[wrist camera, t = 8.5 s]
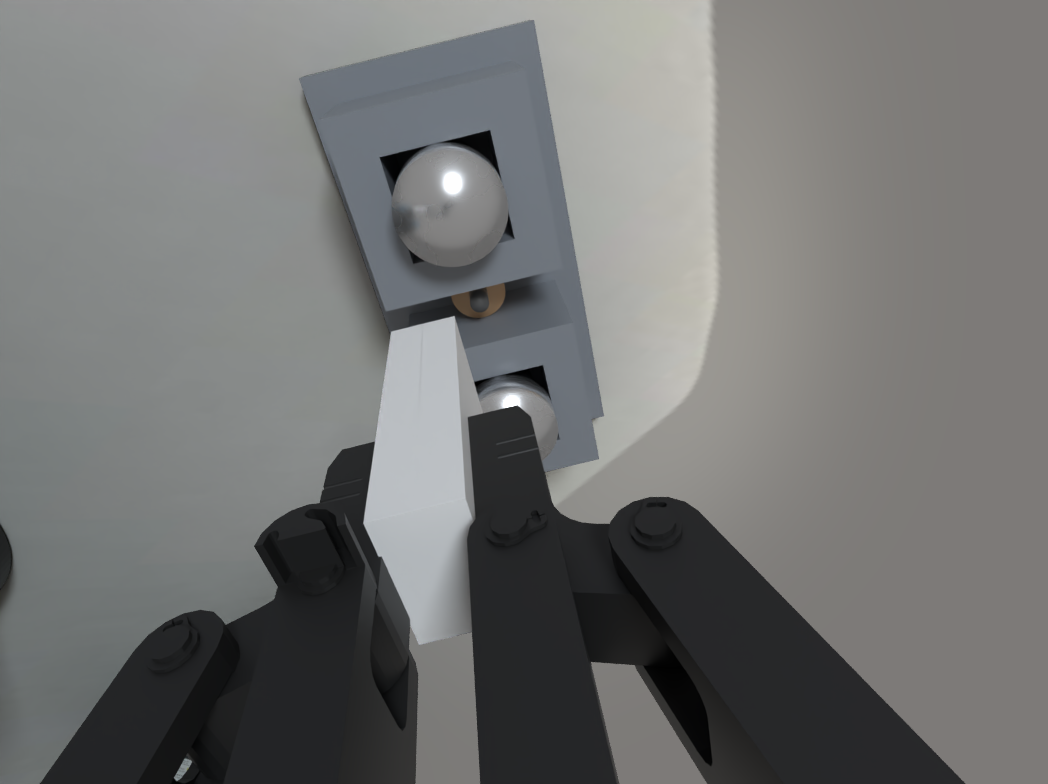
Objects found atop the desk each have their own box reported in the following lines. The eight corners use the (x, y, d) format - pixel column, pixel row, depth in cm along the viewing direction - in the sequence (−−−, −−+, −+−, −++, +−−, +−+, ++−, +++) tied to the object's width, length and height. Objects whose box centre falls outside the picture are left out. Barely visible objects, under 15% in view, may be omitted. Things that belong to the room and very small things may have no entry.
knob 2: (470, 406, 42) (476, 481, 35) (450, 339, 39) (452, 406, 33) (545, 388, 42) (565, 460, 35) (529, 319, 39) (548, 383, 33)
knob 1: (417, 229, 36) (411, 278, 29) (388, 136, 33) (375, 166, 26) (504, 207, 36) (519, 252, 29) (482, 112, 33) (493, 137, 26)
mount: (434, 443, 46) (432, 519, 39) (304, 76, 33) (269, 90, 26) (598, 404, 45) (627, 472, 39) (530, 20, 33) (553, 20, 26)
